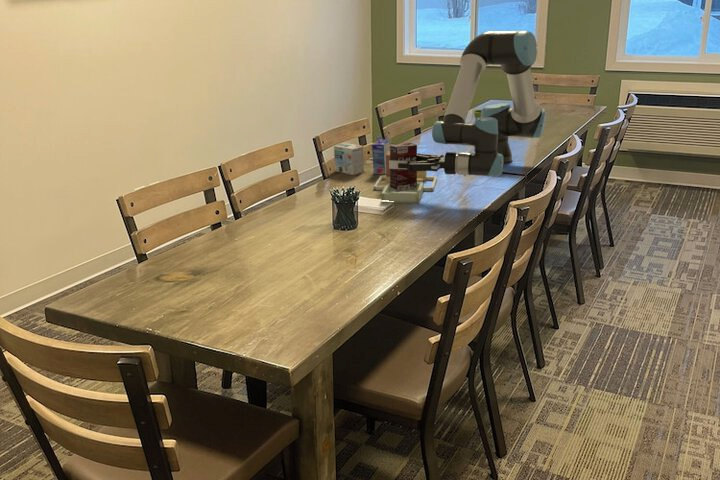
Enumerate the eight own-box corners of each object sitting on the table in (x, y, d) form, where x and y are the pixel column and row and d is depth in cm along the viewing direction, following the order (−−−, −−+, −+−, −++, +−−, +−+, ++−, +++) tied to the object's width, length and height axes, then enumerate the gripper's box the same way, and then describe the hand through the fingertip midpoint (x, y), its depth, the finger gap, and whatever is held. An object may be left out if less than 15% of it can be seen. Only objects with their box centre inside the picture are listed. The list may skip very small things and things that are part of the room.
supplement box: (396, 192, 237) (396, 147, 232) (389, 189, 241) (389, 145, 236) (417, 188, 241) (417, 144, 236) (410, 185, 245) (410, 142, 240)
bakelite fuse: (399, 182, 261) (398, 151, 256) (396, 186, 255) (396, 155, 251) (388, 182, 261) (388, 151, 257) (386, 186, 256) (385, 155, 252)
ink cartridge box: (379, 168, 282) (378, 133, 277) (392, 168, 281) (392, 133, 276) (372, 174, 274) (371, 138, 269) (385, 174, 272) (384, 138, 267)
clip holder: (437, 179, 263) (437, 169, 261) (433, 191, 248) (433, 180, 246) (380, 178, 267) (380, 168, 265) (373, 189, 252) (373, 179, 251)
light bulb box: (334, 171, 280) (333, 145, 276) (345, 168, 284) (344, 142, 281) (353, 175, 273) (352, 148, 269) (364, 171, 277) (363, 145, 274)
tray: (423, 191, 248) (423, 182, 247) (418, 203, 234) (418, 194, 233) (388, 190, 251) (387, 181, 249) (381, 202, 237) (381, 193, 236)
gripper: (451, 182, 224) (385, 179, 231) (461, 166, 244) (399, 164, 250) (452, 160, 222) (384, 157, 228) (461, 145, 241) (399, 144, 247)
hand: (392, 161), depth 239 cm, fingers closed on supplement box, 9 cm apart
